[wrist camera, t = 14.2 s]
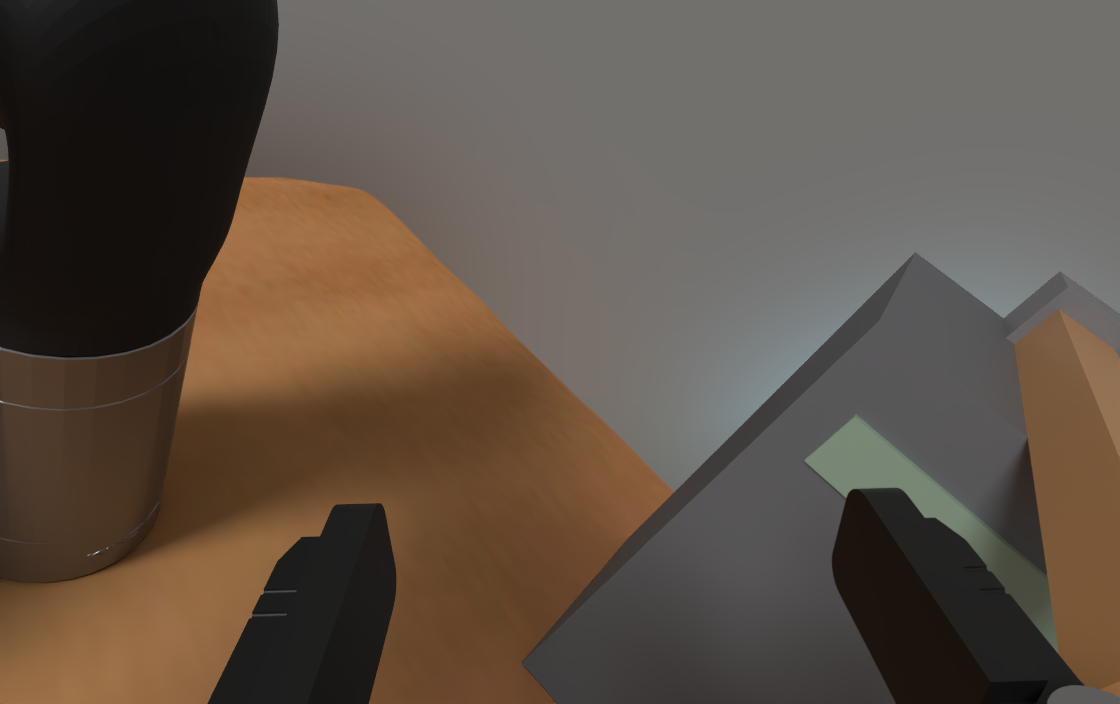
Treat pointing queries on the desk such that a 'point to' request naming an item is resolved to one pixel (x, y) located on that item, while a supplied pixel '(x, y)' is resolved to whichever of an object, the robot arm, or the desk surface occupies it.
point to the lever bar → (1075, 465)
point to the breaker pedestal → (814, 516)
